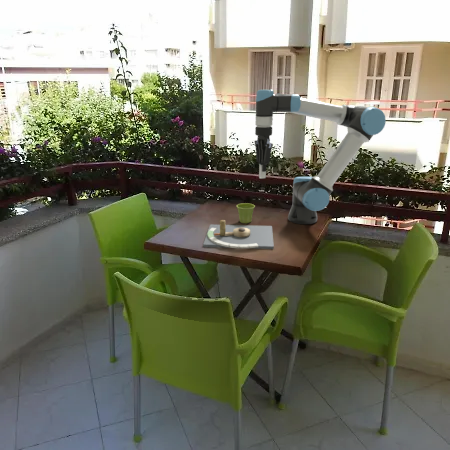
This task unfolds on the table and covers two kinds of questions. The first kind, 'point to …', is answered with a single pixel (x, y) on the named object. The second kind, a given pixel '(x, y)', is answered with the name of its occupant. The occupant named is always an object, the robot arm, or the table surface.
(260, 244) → the scale board
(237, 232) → the dial
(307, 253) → the table surface
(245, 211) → the plant pot
